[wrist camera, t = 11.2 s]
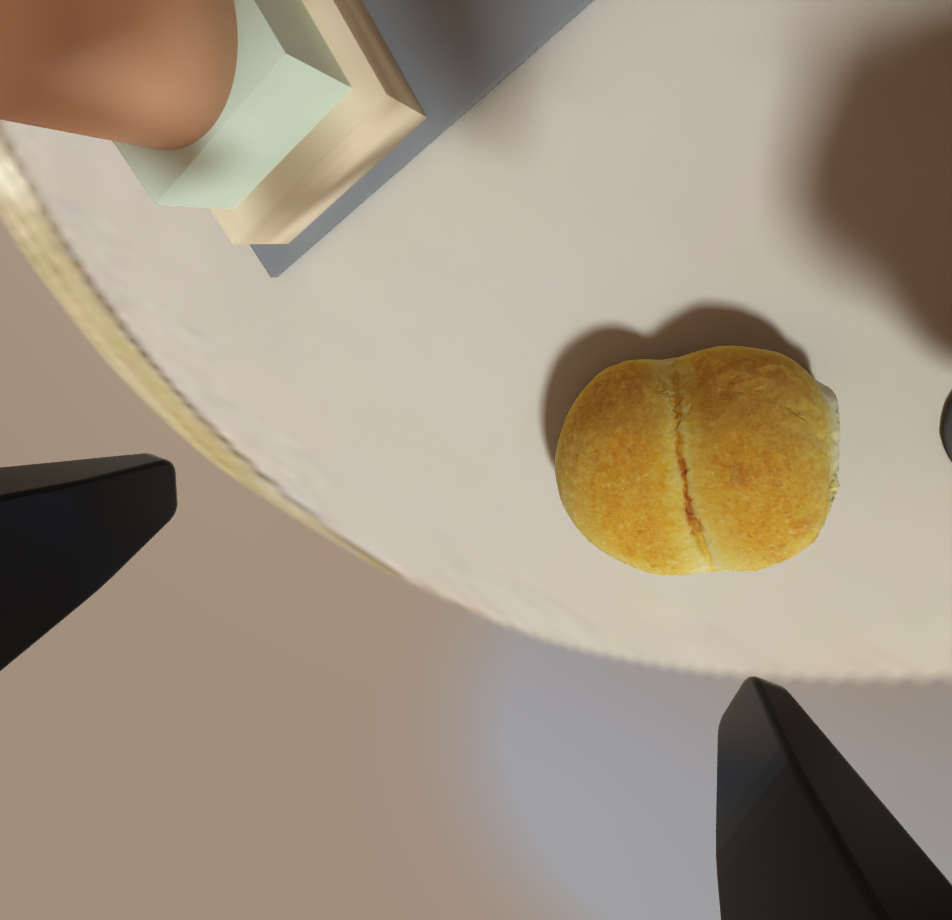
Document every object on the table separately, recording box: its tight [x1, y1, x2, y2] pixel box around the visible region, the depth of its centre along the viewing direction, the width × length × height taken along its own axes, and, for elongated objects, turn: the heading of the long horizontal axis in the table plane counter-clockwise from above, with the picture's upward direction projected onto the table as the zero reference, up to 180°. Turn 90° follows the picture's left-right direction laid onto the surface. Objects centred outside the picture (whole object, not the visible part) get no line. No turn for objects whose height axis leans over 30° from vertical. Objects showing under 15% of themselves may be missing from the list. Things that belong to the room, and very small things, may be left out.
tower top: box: [113, 0, 352, 210], centre depth 14 cm, size 6×6×3 cm
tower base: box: [209, 0, 427, 244], centre depth 16 cm, size 7×7×3 cm
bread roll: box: [555, 345, 840, 576], centre depth 17 cm, size 8×9×4 cm
